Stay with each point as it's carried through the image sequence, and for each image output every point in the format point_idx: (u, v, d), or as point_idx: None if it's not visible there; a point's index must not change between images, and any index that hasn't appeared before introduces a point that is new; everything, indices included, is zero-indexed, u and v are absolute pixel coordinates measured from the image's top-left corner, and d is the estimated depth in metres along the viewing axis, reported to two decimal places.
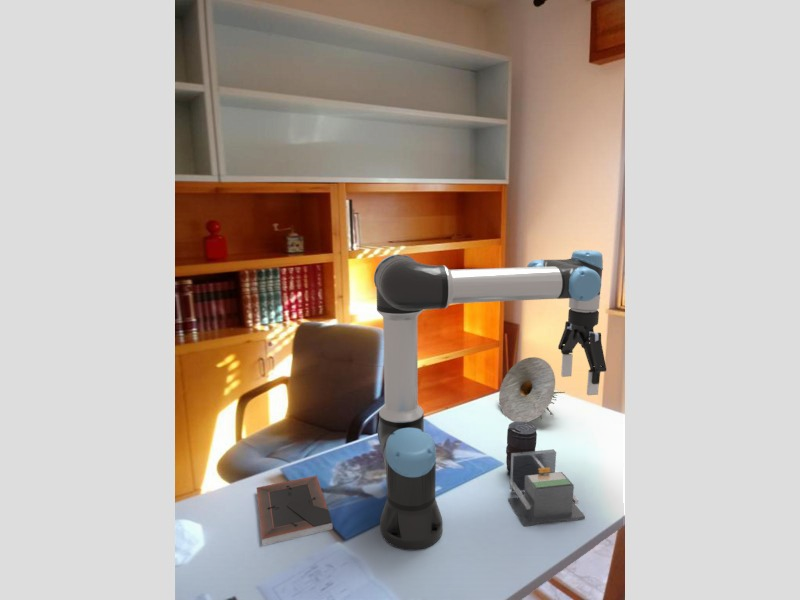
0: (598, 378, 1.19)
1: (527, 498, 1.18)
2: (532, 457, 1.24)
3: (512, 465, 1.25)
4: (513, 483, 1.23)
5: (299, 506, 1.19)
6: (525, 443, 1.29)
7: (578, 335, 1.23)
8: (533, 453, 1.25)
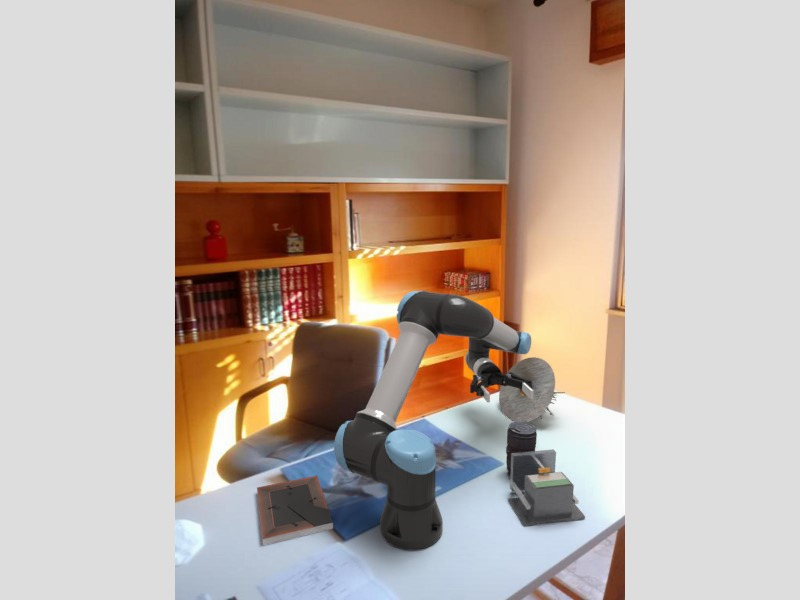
0: None
1: (527, 498, 1.18)
2: (532, 457, 1.24)
3: (512, 465, 1.25)
4: (513, 483, 1.23)
5: (300, 506, 1.19)
6: (525, 443, 1.29)
7: (498, 373, 1.54)
8: (533, 453, 1.25)
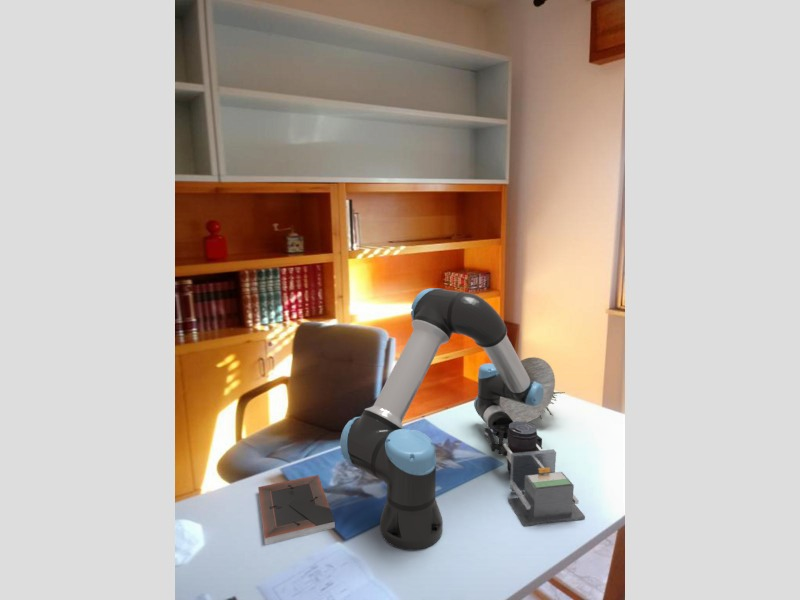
0: None
1: (527, 498, 1.18)
2: (532, 457, 1.24)
3: (512, 465, 1.25)
4: (513, 483, 1.23)
5: (301, 505, 1.20)
6: (526, 443, 1.29)
7: None
8: (533, 453, 1.25)
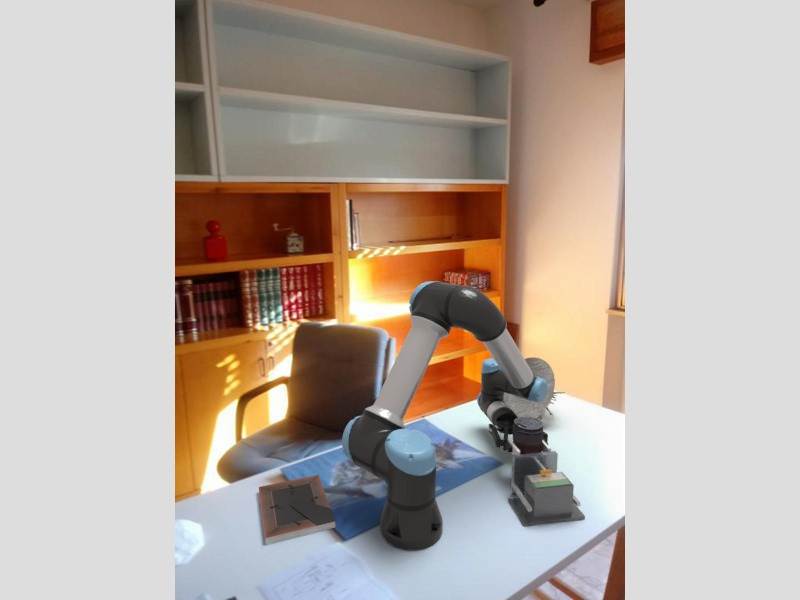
0: None
1: (527, 498, 1.18)
2: (533, 459, 1.24)
3: (513, 467, 1.24)
4: (514, 485, 1.23)
5: (302, 505, 1.20)
6: (532, 438, 1.25)
7: None
8: (534, 455, 1.24)
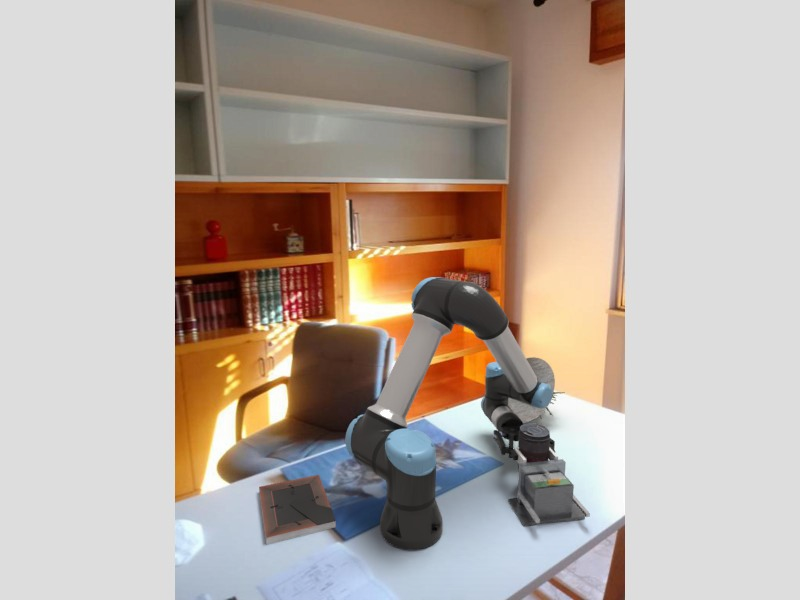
0: None
1: (527, 498, 1.18)
2: (541, 467, 1.19)
3: (520, 476, 1.20)
4: (521, 495, 1.18)
5: (302, 505, 1.20)
6: (538, 446, 1.21)
7: None
8: (542, 463, 1.20)
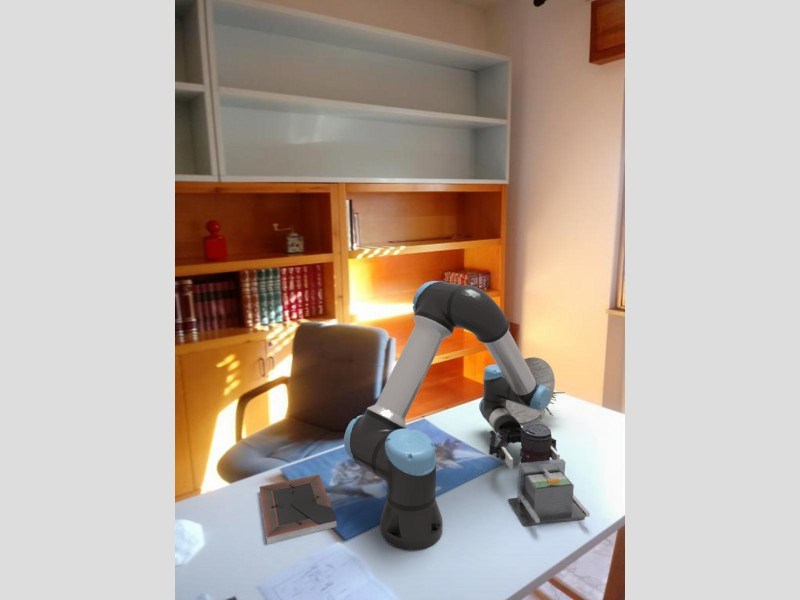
0: None
1: (527, 498, 1.18)
2: (540, 467, 1.20)
3: (520, 476, 1.20)
4: (521, 494, 1.19)
5: (303, 504, 1.20)
6: (540, 445, 1.25)
7: (518, 428, 1.39)
8: (541, 463, 1.20)
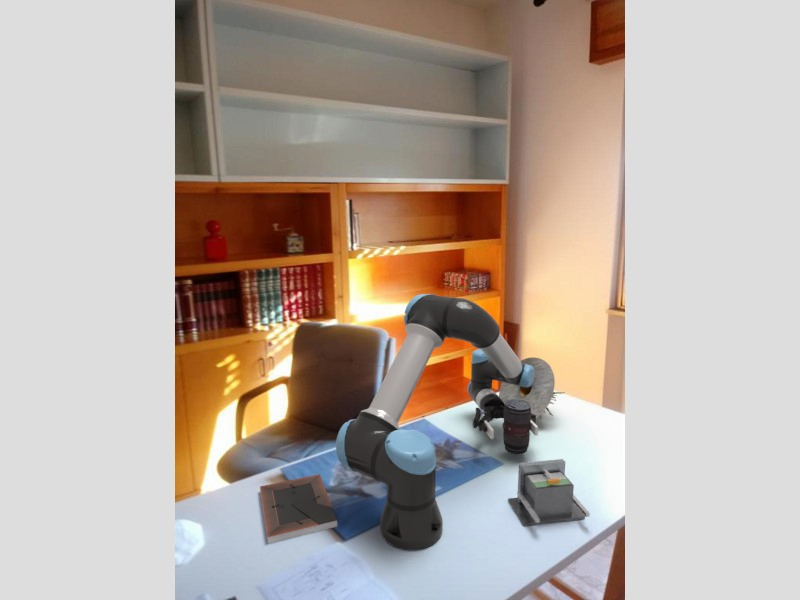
0: None
1: (527, 498, 1.18)
2: (540, 467, 1.20)
3: (520, 476, 1.20)
4: (521, 494, 1.19)
5: (303, 504, 1.20)
6: (520, 418, 1.38)
7: (502, 406, 1.51)
8: (541, 463, 1.20)
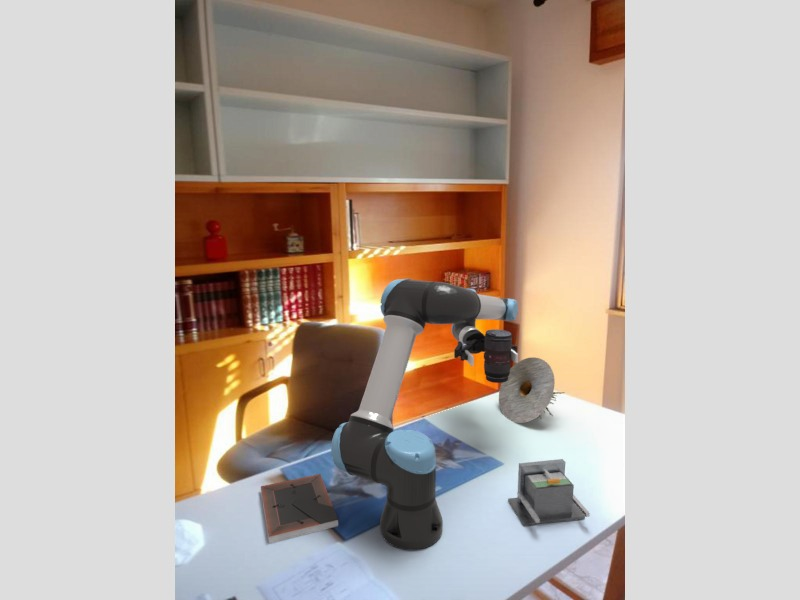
0: None
1: (527, 498, 1.18)
2: (540, 467, 1.20)
3: (520, 476, 1.20)
4: (521, 494, 1.19)
5: (304, 504, 1.20)
6: (501, 345, 1.38)
7: (483, 339, 1.51)
8: (541, 463, 1.20)
